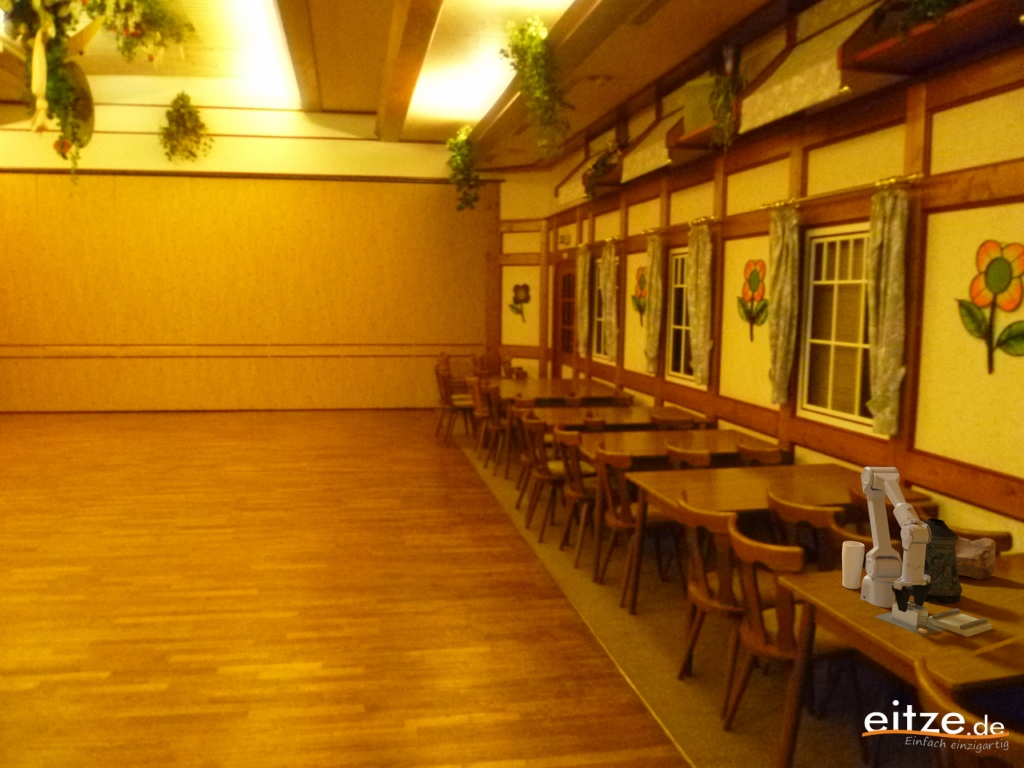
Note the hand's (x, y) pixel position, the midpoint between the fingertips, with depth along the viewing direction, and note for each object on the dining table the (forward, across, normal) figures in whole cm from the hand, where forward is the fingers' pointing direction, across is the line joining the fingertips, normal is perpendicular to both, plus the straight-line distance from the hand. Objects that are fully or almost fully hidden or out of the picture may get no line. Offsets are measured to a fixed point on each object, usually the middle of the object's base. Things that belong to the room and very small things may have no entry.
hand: (910, 608), depth 239 cm
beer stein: (+6, +31, +14) cm, 35 cm away
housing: (+4, 0, 0) cm, 4 cm away
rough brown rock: (+5, +59, +22) cm, 63 cm away
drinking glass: (+5, +13, +30) cm, 33 cm away
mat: (+5, 0, 0) cm, 5 cm away
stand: (+5, +12, -8) cm, 15 cm away
